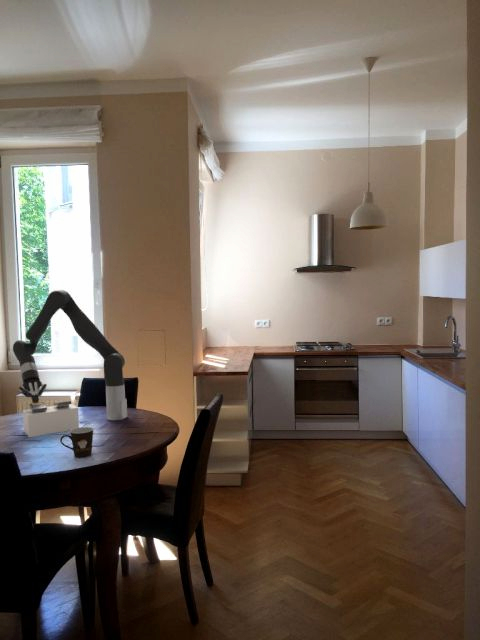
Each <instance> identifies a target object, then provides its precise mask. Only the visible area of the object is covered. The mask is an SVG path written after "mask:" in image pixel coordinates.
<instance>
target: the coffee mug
mask: <svg viewBox="0 0 480 640" xmlns="http://www.w3.org/2000/svg"><path fill="white" fill-rule="evenodd" d="M69 431H70V433H69V434H70V435H68V434H65V435H62V436H61V437H60V439H59V440H60V443H61V445H62V446H64V447H65V448H68V449H69V450H72V451H73V456H74V458H76V459H84V458H88V457H91V456H92V455H93V454H92V453H93V441H94V440H93V439H94V437H93V436H94V428H93V427H89V426H84V427H83V426H82V427H79V428H76V429H73V430H69ZM65 437H66V438H69V439H70V440H71V443H72V444H71V445H72V447H71V446H68V445H66V444H65V443H63V439H64V438H65Z"/></svg>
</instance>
